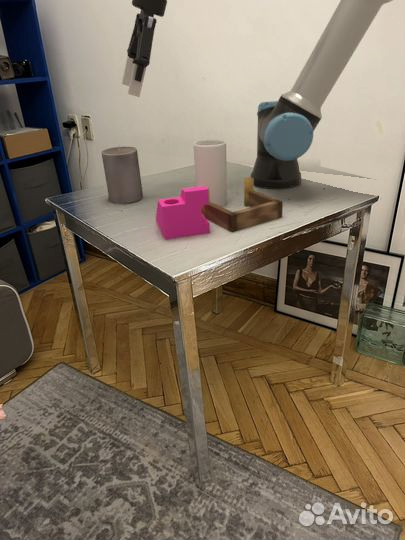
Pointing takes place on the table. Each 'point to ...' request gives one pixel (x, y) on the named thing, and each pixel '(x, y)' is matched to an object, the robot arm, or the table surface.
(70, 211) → the table surface
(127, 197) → the pillar candle
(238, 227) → the bay
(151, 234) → the table surface
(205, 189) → the bracket
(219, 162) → the cup
